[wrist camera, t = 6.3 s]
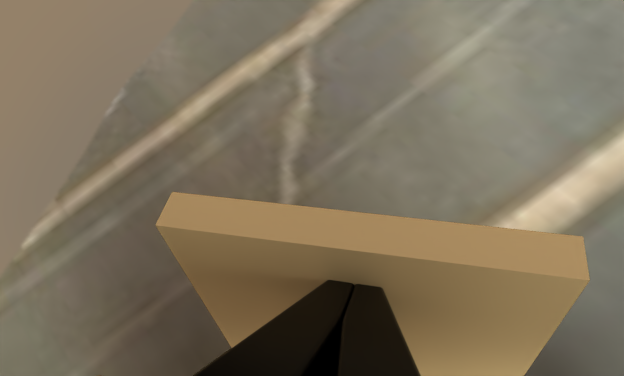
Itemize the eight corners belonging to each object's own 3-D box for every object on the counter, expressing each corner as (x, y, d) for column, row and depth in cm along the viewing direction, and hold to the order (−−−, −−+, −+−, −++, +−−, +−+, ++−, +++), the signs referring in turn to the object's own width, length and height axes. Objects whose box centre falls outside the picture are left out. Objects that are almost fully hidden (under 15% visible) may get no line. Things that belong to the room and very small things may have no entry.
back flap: (486, 430, 12) (589, 279, 6) (254, 384, 14) (154, 225, 8) (486, 402, 13) (582, 236, 7) (261, 360, 14) (172, 192, 8)
